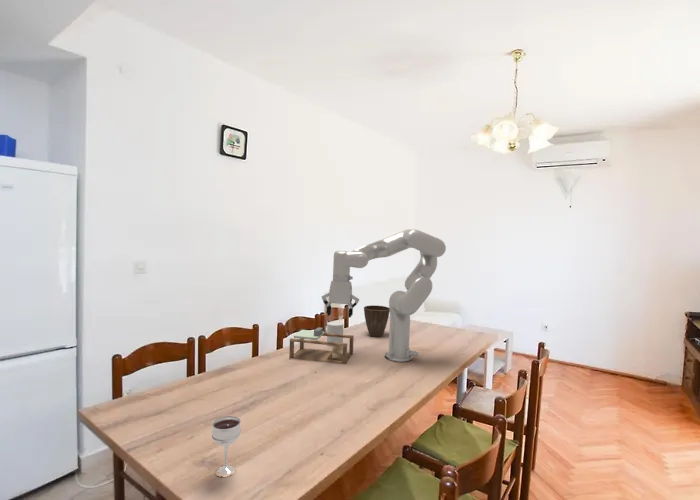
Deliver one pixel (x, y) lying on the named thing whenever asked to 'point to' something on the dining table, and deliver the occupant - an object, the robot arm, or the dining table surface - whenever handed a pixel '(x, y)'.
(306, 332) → the lid
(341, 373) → the dining table surface
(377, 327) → the plant pot
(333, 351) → the maple block
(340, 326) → the cup
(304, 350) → the wooden table frame
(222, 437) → the wineglass
